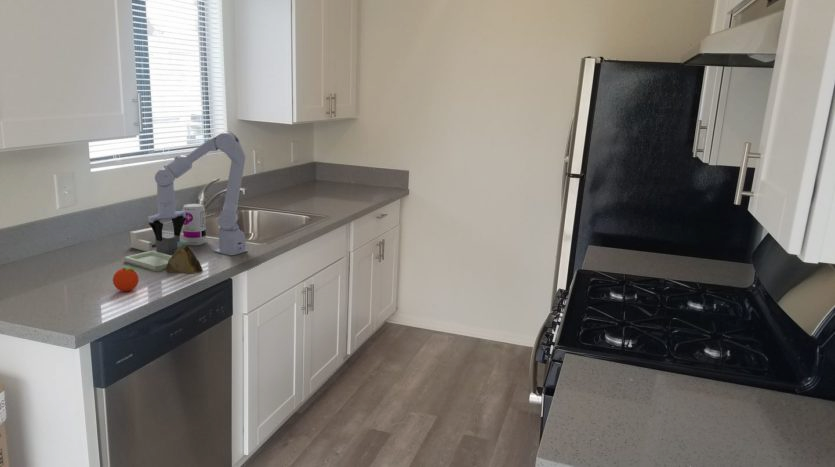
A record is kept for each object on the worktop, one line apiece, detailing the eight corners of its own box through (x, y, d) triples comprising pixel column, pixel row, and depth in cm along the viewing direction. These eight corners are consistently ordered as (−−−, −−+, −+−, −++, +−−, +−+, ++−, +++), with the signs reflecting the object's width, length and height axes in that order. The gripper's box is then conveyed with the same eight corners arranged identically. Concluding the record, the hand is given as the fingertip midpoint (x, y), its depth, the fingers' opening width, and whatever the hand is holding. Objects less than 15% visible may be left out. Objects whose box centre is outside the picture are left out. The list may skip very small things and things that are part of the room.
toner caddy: (190, 254, 220) (189, 238, 218) (178, 257, 216) (177, 241, 214) (168, 248, 226) (167, 233, 224) (156, 251, 222) (155, 235, 220)
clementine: (142, 285, 185) (140, 263, 184) (144, 292, 179) (142, 269, 178) (113, 288, 182) (111, 265, 180) (114, 295, 176) (112, 272, 174)
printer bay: (171, 247, 228) (170, 231, 227) (149, 252, 220) (148, 236, 219) (153, 242, 233) (152, 227, 232) (131, 247, 225) (130, 231, 224)
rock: (155, 266, 197) (174, 268, 192) (166, 242, 200) (185, 243, 195) (180, 279, 205) (200, 281, 200) (190, 256, 208) (210, 257, 203)
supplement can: (191, 247, 229) (190, 208, 226) (179, 243, 234) (177, 205, 231) (210, 243, 236) (209, 205, 232) (198, 239, 240) (196, 202, 237)
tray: (184, 264, 208) (184, 259, 208) (157, 271, 199) (156, 266, 198) (152, 255, 217) (152, 250, 216) (124, 262, 207) (123, 257, 207)
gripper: (176, 197, 225) (177, 233, 229) (141, 203, 213) (143, 240, 216) (188, 200, 222) (190, 236, 225) (154, 206, 210) (156, 243, 213)
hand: (168, 238), depth 221 cm, fingers open, 7 cm apart
